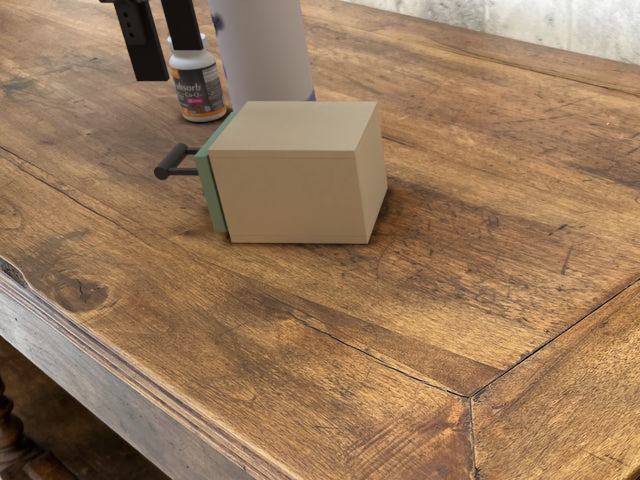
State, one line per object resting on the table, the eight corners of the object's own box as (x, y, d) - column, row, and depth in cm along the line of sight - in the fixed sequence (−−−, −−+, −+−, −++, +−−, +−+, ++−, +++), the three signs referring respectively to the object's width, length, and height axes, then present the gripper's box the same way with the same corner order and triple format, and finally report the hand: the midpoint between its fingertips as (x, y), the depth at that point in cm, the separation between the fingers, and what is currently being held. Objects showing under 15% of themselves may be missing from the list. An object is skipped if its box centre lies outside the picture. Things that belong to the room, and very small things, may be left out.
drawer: (157, 231, 79) (133, 156, 74) (197, 181, 88) (177, 111, 83) (339, 232, 78) (327, 156, 73) (360, 182, 87) (350, 112, 82)
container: (236, 127, 102) (195, -46, 90) (314, 116, 105) (285, -54, 92) (244, 157, 95) (201, -28, 83) (328, 144, 98) (298, -36, 85)
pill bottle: (174, 121, 104) (152, 42, 98) (198, 106, 109) (178, 29, 102) (213, 125, 103) (193, 45, 97) (235, 109, 108) (218, 32, 101)
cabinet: (231, 242, 79) (207, 149, 73) (266, 187, 89) (247, 101, 83) (367, 244, 78) (354, 150, 72) (387, 187, 88) (377, 101, 82)
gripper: (71, -245, 52) (169, 104, 66) (186, -249, 68) (245, 31, 82) (-42, -244, 52) (81, 104, 66) (100, -248, 68) (173, 31, 83)
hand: (171, 63), depth 74 cm, fingers open, 8 cm apart
